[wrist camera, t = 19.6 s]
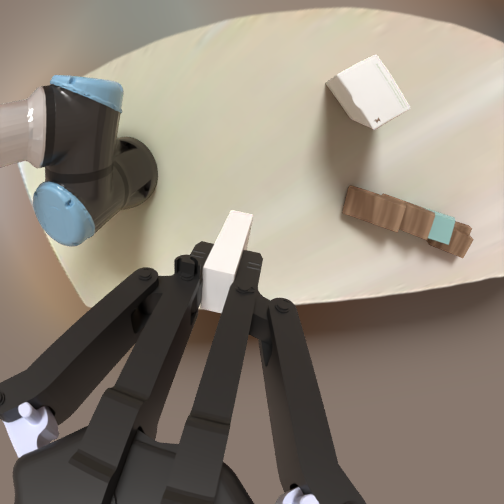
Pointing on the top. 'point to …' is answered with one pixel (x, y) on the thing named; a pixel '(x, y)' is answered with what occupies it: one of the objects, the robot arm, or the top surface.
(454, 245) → the domino
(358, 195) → the domino
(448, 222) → the teal tile
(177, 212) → the top surface
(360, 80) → the skincare box
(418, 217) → the domino
